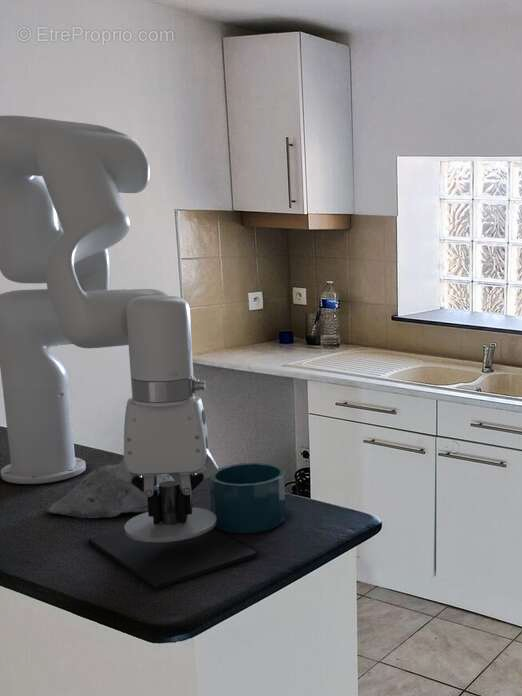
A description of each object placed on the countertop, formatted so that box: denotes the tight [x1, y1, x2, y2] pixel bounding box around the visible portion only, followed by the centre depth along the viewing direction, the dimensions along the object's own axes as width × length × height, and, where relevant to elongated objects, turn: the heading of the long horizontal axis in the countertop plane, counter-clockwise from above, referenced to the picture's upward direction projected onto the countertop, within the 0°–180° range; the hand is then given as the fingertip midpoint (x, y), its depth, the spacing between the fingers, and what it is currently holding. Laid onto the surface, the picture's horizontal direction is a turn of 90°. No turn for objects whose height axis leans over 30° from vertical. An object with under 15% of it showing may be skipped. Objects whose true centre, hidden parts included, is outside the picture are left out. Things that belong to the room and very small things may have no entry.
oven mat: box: [88, 527, 258, 590], centre depth 111 cm, size 20×14×1 cm
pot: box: [209, 462, 287, 534], centre depth 121 cm, size 11×11×8 cm
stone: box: [46, 463, 176, 519], centre depth 127 cm, size 18×8×15 cm
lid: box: [123, 480, 217, 542], centre depth 109 cm, size 12×12×7 cm
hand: (171, 519), depth 110 cm, fingers closed on lid, 2 cm apart
